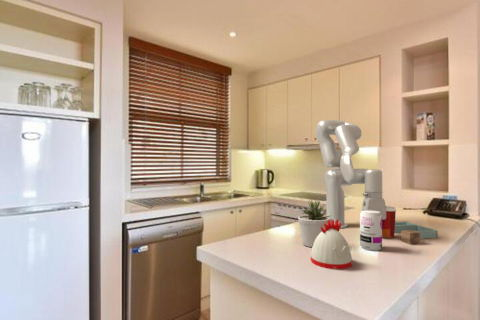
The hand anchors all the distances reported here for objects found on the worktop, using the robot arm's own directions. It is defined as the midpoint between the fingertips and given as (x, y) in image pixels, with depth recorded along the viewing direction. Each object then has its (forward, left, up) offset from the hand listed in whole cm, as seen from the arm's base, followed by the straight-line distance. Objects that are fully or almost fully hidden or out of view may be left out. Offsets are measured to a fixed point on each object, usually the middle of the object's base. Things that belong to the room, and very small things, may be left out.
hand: (373, 234), depth 131 cm
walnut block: (+10, -11, -2) cm, 15 cm away
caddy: (+21, +4, -1) cm, 21 cm away
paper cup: (+7, 0, -2) cm, 7 cm away
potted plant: (-33, -7, -2) cm, 34 cm away
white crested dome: (-36, -27, -2) cm, 45 cm away
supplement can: (-12, -15, -2) cm, 19 cm away
